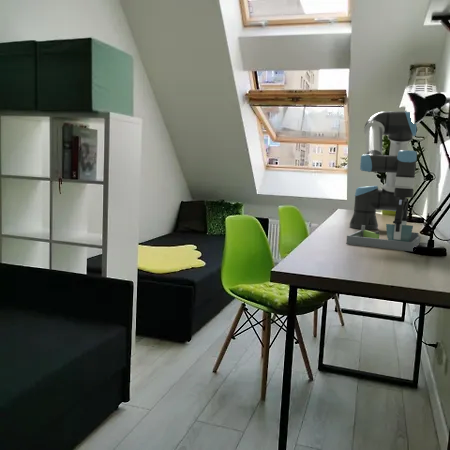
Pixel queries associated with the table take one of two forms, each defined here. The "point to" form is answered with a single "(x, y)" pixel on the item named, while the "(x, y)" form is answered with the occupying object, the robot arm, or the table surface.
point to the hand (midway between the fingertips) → (399, 237)
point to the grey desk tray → (382, 241)
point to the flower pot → (405, 232)
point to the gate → (371, 234)
